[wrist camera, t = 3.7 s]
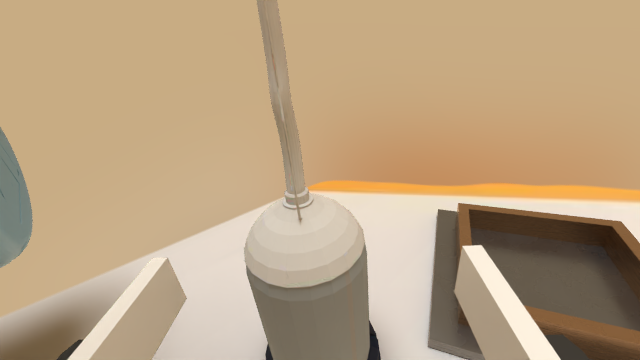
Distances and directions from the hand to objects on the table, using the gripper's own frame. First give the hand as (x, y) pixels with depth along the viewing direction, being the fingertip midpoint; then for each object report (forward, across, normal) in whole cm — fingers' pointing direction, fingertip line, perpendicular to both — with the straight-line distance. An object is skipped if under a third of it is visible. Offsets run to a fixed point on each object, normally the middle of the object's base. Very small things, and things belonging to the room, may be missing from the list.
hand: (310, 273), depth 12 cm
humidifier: (+3, -1, -13) cm, 13 cm away
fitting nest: (+10, +19, -12) cm, 24 cm away
